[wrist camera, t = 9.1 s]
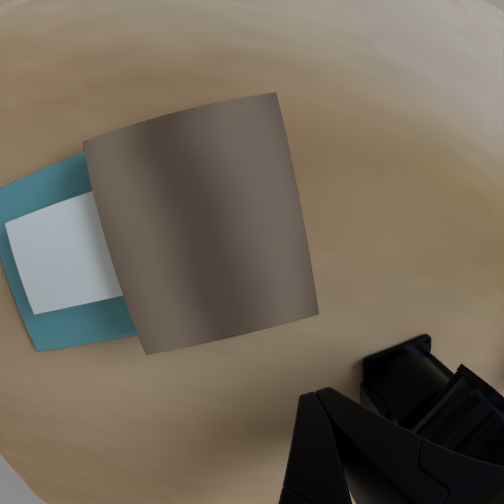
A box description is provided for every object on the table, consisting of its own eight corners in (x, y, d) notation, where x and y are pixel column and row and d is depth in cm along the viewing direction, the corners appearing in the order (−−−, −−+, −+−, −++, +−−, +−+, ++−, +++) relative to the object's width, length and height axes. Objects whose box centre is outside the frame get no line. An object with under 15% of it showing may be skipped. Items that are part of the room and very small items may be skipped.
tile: (109, 187, 17) (98, 189, 15) (135, 283, 19) (127, 294, 17) (20, 218, 17) (4, 223, 15) (47, 303, 18) (34, 314, 16)
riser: (264, 106, 18) (275, 92, 14) (302, 292, 21) (318, 314, 17) (103, 147, 17) (82, 142, 14) (155, 327, 20) (146, 355, 17)
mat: (98, 149, 17) (95, 148, 17) (149, 328, 20) (148, 332, 20) (-11, 195, 16) (-15, 196, 16) (40, 348, 19) (37, 351, 19)
